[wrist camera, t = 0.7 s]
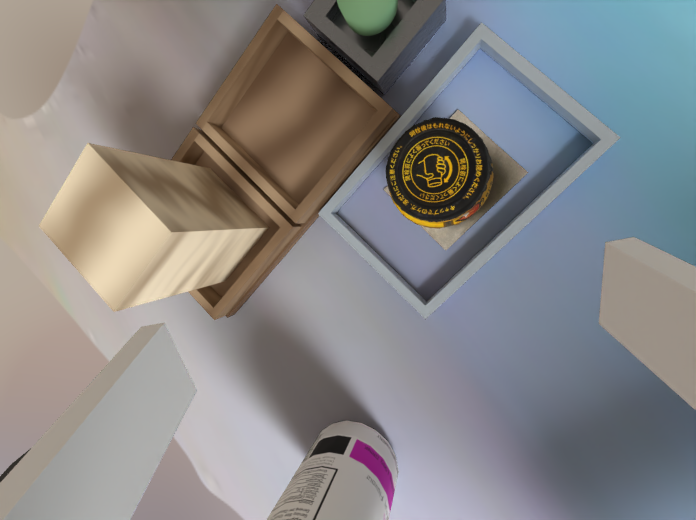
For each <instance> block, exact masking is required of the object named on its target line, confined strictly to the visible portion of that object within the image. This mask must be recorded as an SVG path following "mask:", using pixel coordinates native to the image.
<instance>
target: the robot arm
mask: <svg viewBox="0 0 696 520" xmlns="http://www.w3.org/2000/svg"><path fill="white" fill-rule="evenodd" d="M599 324H600V325H601V326H602V327H603V328H604V329H605V330H606V331H607V332H608V333H610V334H611V335H612V336H613V337H614V338H615V339H616V340H617V341H619V342H620V343H621V344H622V345H623V346H624V347H625V348H626V349H627V350H629V351H630V352H631V353H632V354H633V355H634V356H635V357H636V358H638V359H639V360H640V361H641V362H642V363H643V364H644V365H645V366H646V367H648V368H649V369H650V370H651V371H652V372H653V373H654V374H655V375H657V376H658V377H659V378H660V379H661V380H662V381H663V382H664V383H666V384H667V385H668V386H669V387H670V388H671V389H672V390H673V391H674V392H676V393H677V394H678V395H679V396H680V397H681V398H682V399H683V400H685V401H686V402H687V403H688V404H689V405H690V406H691V407H692V408H693V409H695V410H696V267H695V266H693V265H691V264H689V263H687V262H685V261H683V260H681V259H679V258H677V257H675V256H673V255H670V254H668V253H666V252H664V251H662V250H660V249H658V248H656V247H654V246H652V245H650V244H648V243H646V242H643V241H641V240H639V239H637V238H635V237H631V238H625V239H620V240H615V241H609V242H605V254H604V266H603V278H602V290H601V302H600V315H599ZM196 391H197V389H196V387H195V385H194V383H193V381H192V379H191V377H190V375H189V373H188V371H187V369H186V367H185V364H184V362H183V360H182V358H181V356H180V354H179V352H178V350H177V348H176V346H175V344H174V342H173V340H172V337H171V335H170V333H169V331H168V329H167V327H166V325H165V323H160V324H155V325H149V326H144V327H141V328H140V329H139V330H138V331H137V332H136V333H135V334H134V335H133V337H132V338H131V339H130V340H129V341H128V342H127V343H126V344H125V345H124V346H123V348H122V349H121V350H120V351H119V352H118V353H117V354H116V355H115V356H114V358H113V359H112V360H111V361H110V362H109V363H108V364H107V365H106V366H105V368H104V369H103V370H102V371H101V372H100V373H99V374H98V375H97V377H95V379H94V380H93V381H92V382H91V383H90V384H89V385H88V386H87V387H86V389H85V390H84V391H83V392H82V393H81V394H80V395H79V396H78V398H77V399H76V400H75V401H74V402H73V403H72V404H71V405H70V406H69V407H68V408H67V410H66V411H65V412H64V413H63V414H62V415H61V416H60V417H59V419H57V421H56V422H55V423H54V424H53V425H52V426H51V427H50V428H49V430H48V431H47V432H46V433H45V434H44V435H43V436H42V437H41V438H40V439H39V440H38V442H37V443H36V444H35V445H34V446H33V447H32V448H31V449H30V450H28V451H27V452H26V453H25V454H23V455H22V456H21V457H20V458H18V459H17V460H16V461H15V462H14V463H12V464H11V465H10V466H9V468H8V469H7V470H6V471H5V472H4V473H3V474H2V475H1V476H0V520H130V519H131V517H132V515H133V513H134V511H135V510H136V507H137V506H138V504H139V502H140V500H141V498H142V496H143V494H144V492H145V490H146V488H147V486H148V484H149V482H150V480H151V478H152V477H153V475H154V473H155V471H156V469H157V467H158V465H159V463H160V461H161V459H162V457H163V455H164V453H165V451H166V449H167V447H168V446H169V444H170V442H171V439H172V438H173V436H174V434H175V432H176V430H177V428H178V426H179V424H180V422H181V420H182V418H183V416H184V415H185V413H186V411H187V409H188V407H189V405H190V403H191V401H192V399H193V397H194V395H195V393H196Z"/></svg>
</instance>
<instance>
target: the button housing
mask: <svg viewBox="0 0 696 520" xmlns="http://www.w3.org/2000/svg"><path fill="white" fill-rule="evenodd" d="M304 17H305V18H306V19H307V21H308V22H309V24H310V25H311V26H312V28H313V29H314V30H315V32H316V33H317V34H318V35H319V36H320V37H321V38H322V39H323V40H324V41H325V42H327V43H328V44H329V45H330V46H331V47H332V48H333V49H334V50H335V51H337V52H338V53H339V54H340V55H341V56H342V57H343V58H344V59H345V60H347V61H348V62H349V63H350V64H351V65H352V66H353V67H354V68H355V69H357V70H358V71H359V72H360V73H361V74H362V75H363V76H364V77H365V78H367V79H368V80H369V81H370V82H371V83H372V84H373V85H374V86H376V87H377V88H378V89H379V90H380V91H381V92H382V93H383V94H384V95H385V93H386V92H387V91H388V90H389V89H390V87H391V86H392V85H393V84H394V82H395V81H396V80H397V79H398V78H399V76H400V75H401V74H402V73H403V72H404V70H405V69H406V68H407V67H408V65H409V64H410V63H411V62H412V61H413V59H414V58H415V57H416V56H417V55H418V53H419V52H420V51H421V50H422V49H423V47H424V46H425V45H426V44H427V42H428V41H429V40H430V39H431V38H432V36H433V35H434V34H435V33H436V32H437V30H438V29H439V28H440V27H441V25H442V24H443V23H444V22H445V21H446V0H398V7H397V12H396V15H395V17H394V19H393V21H392V22H391V24H390V25H389V26H388V27H387V28H386V29H385V30H383V31H382V32H380V33H378V34H376V35H372V36H362V35H359V34H357V33H355V32H354V31H353V30H352V29H351V28H350V27H349V26H348V24H347V22H346V20H345V18H344V16H343V14H342V13H341V11H340V9H339V6H338V3H337V0H314V1H313V3H312V4H311V6H310V7H309V8H308V10H307V11H306V13H305V14H304Z"/></svg>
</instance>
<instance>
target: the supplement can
mask: <svg viewBox="0 0 696 520" xmlns="http://www.w3.org/2000/svg"><path fill="white" fill-rule="evenodd" d="M398 472H399V471H398V465H397V459H396V455H395V453H394V452H393V450H392V448H391V446H390V444H389V443H388V441H387V440H386V439H385V438H384V437H383V436H381V435H380V434H379V433H378V432H377V431H376V430H375V429H373V428H371V427H369V426H367V425H365V424H363V423H359V422H352V421H342V422H337V423H333V424H331V425H329V426H328V427H327V428H325V429H324V430H322V431H321V432H320V434H319V436H318V437H317V439H316V441H315V442H314V444H313V445H312V447H311V449H310V450H309V452H308V454H307V455H306V457H305V458H304V460H303V462H302V463H301V465H300V466H299V468H298V470H297V471H296V473H295V475H294V476H293V478H292V479H291V481H290V483H289V484H288V486H287V488H286V489H285V491H284V492H283V494H282V496H281V497H280V499H279V501H278V502H277V504H276V505H275V507H274V509H273V510H272V512H271V514H270V515H269V517H268V518H267V520H389V515H390V510H391V505H392V501H393V496H394V491H395V487H396V482H397V477H398Z"/></svg>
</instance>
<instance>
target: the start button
mask: <svg viewBox="0 0 696 520" xmlns="http://www.w3.org/2000/svg"><path fill="white" fill-rule="evenodd" d="M337 3H338V6H339V9H340V11H341V13H342V14H343V16H344V18H345V20H346V22H347V24H348V26H349V27H350V28H351V29H352V30H353V31H354V32H355V33H357V34H359V35H362V36H372V35H376V34H378V33H380V32H382V31H383V30H385V29H386V28H387V27H388V26H389V25H390V24H391V22H392V21H393V19H394V17H395V15H396V12H397V7H398V0H337Z"/></svg>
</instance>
